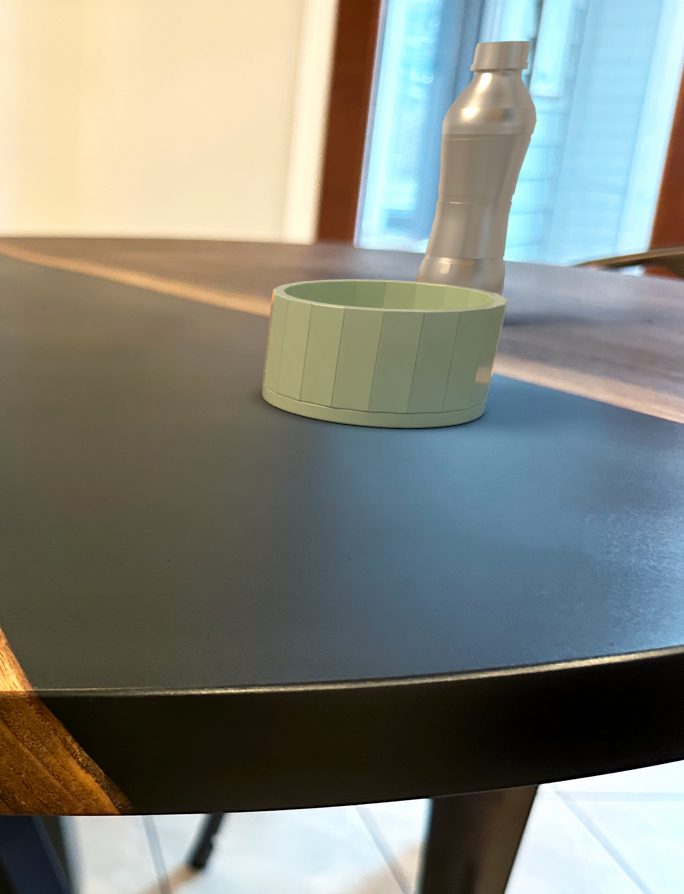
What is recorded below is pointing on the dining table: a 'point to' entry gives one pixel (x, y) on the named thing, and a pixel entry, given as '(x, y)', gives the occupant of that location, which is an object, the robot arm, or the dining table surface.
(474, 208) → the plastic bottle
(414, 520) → the dining table surface
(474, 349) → the round open container
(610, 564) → the dining table surface
